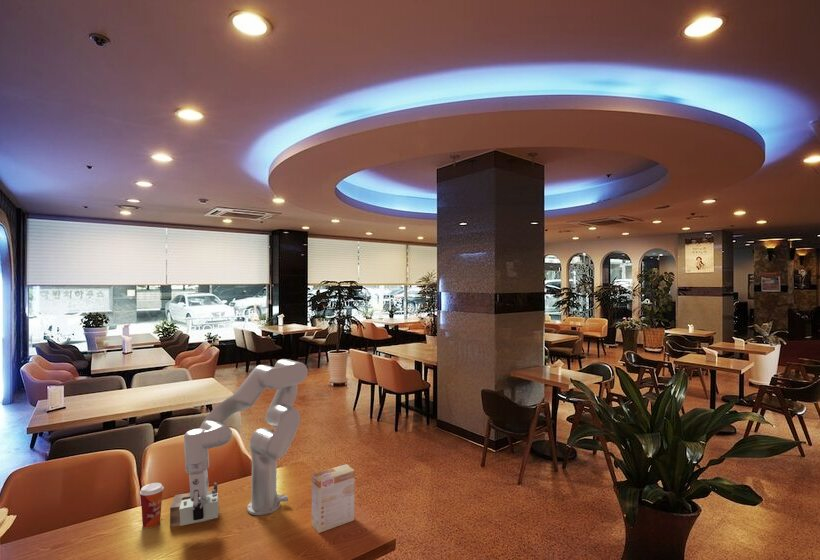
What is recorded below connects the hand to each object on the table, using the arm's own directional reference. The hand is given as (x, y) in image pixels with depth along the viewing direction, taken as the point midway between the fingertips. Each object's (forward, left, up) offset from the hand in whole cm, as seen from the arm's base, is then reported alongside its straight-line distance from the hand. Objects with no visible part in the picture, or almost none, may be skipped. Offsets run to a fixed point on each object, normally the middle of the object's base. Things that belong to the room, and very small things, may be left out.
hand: (199, 513), depth 156 cm
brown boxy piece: (+4, -14, -8) cm, 17 cm away
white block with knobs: (0, 0, -1) cm, 1 cm away
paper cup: (+18, -13, -8) cm, 24 cm away
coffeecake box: (-47, +6, -8) cm, 48 cm away
